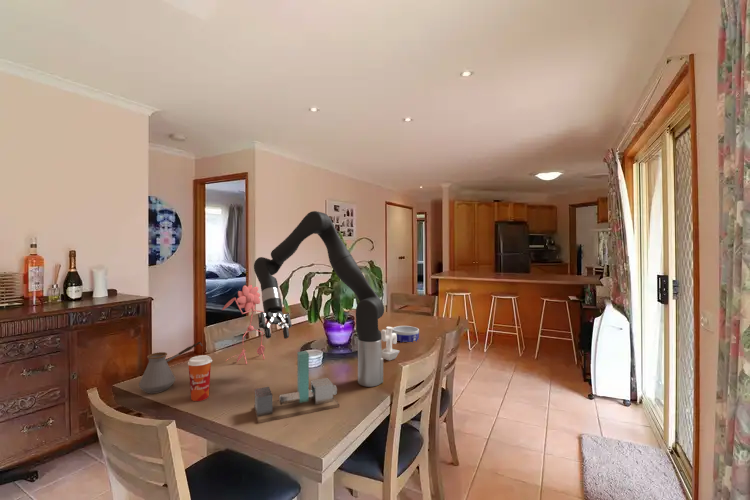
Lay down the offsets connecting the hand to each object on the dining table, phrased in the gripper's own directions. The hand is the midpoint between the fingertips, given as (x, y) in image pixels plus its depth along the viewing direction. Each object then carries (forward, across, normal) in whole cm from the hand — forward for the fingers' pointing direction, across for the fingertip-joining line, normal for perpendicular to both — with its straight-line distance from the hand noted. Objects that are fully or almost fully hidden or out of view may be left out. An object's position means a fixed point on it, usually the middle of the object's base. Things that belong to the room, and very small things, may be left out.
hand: (277, 337), depth 139 cm
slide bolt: (+27, -3, -15) cm, 31 cm away
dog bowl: (+3, +84, -5) cm, 84 cm away
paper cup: (+15, -23, +18) cm, 33 cm away
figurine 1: (-3, +10, +36) cm, 37 cm away
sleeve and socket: (+28, -7, -12) cm, 31 cm away
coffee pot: (+6, -25, +34) cm, 43 cm away
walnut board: (+28, -7, -11) cm, 31 cm away
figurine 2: (+15, +52, -13) cm, 55 cm away
